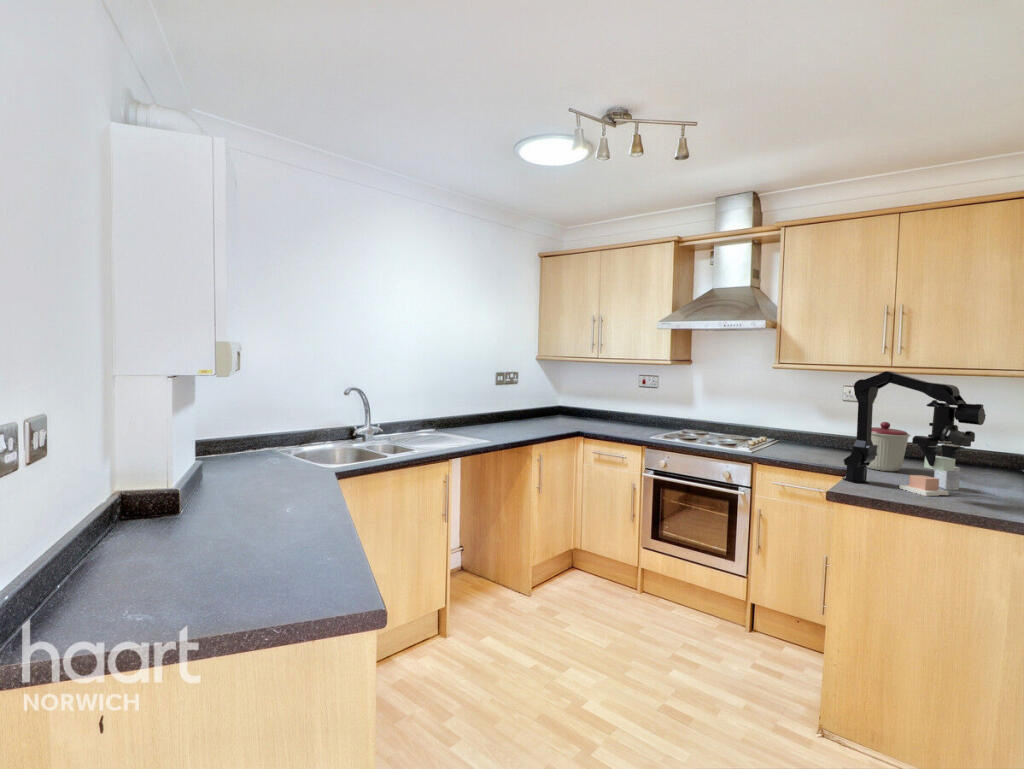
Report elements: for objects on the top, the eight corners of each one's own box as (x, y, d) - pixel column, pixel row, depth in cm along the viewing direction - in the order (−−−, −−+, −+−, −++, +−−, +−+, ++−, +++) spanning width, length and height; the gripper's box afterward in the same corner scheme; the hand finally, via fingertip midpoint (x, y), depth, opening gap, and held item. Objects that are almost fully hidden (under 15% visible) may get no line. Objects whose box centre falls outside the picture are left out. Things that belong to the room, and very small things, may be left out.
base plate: (925, 496, 185) (926, 491, 185) (899, 488, 194) (899, 484, 194) (948, 495, 187) (948, 491, 187) (920, 488, 197) (920, 484, 197)
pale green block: (943, 471, 177) (944, 459, 177) (924, 467, 183) (925, 456, 183) (954, 470, 180) (955, 459, 179) (934, 466, 185) (935, 455, 185)
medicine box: (959, 491, 195) (961, 467, 195) (945, 489, 196) (947, 467, 196) (946, 486, 203) (948, 463, 202) (932, 485, 204) (934, 462, 203)
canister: (883, 474, 221) (887, 424, 220) (847, 465, 239) (851, 419, 238) (918, 473, 225) (922, 425, 224) (880, 465, 243) (884, 419, 242)
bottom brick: (908, 486, 193) (909, 475, 193) (921, 485, 194) (922, 475, 194) (925, 490, 187) (925, 479, 187) (938, 490, 188) (939, 478, 188)
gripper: (946, 424, 170) (941, 471, 171) (990, 424, 175) (985, 471, 176) (912, 419, 181) (908, 464, 182) (955, 420, 186) (951, 463, 186)
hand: (939, 465), depth 181 cm, fingers closed on pale green block, 6 cm apart
